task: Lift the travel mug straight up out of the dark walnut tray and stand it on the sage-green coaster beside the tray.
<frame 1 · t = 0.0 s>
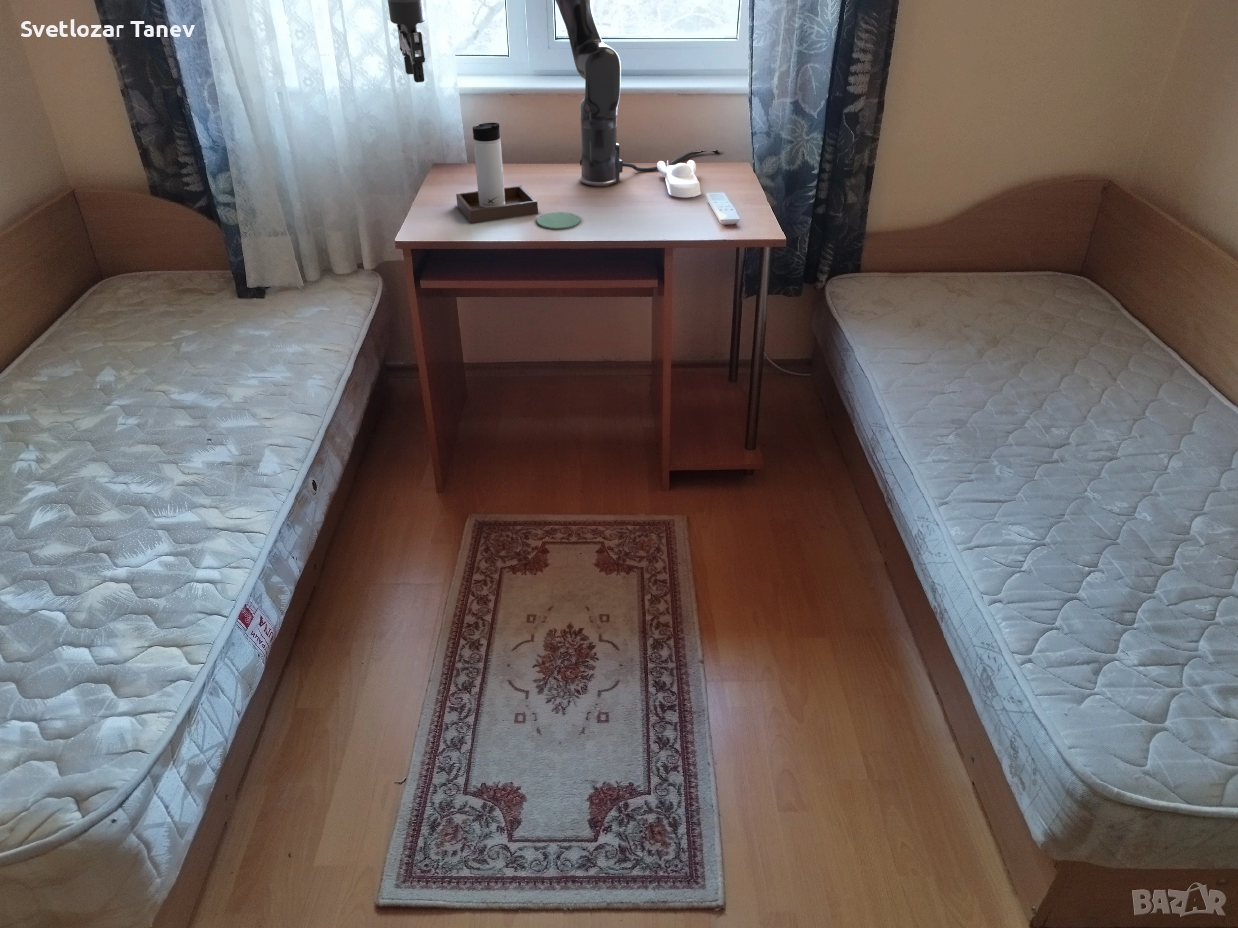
hand: (415, 78, 198), 29 cm above the table, tool pointing down, fingers open, 8 cm apart
travel mug: (493, 209, 212), resting on tray
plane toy: (680, 187, 227), on the table
coaster: (558, 221, 206), on the table
tray: (497, 209, 212), on the table
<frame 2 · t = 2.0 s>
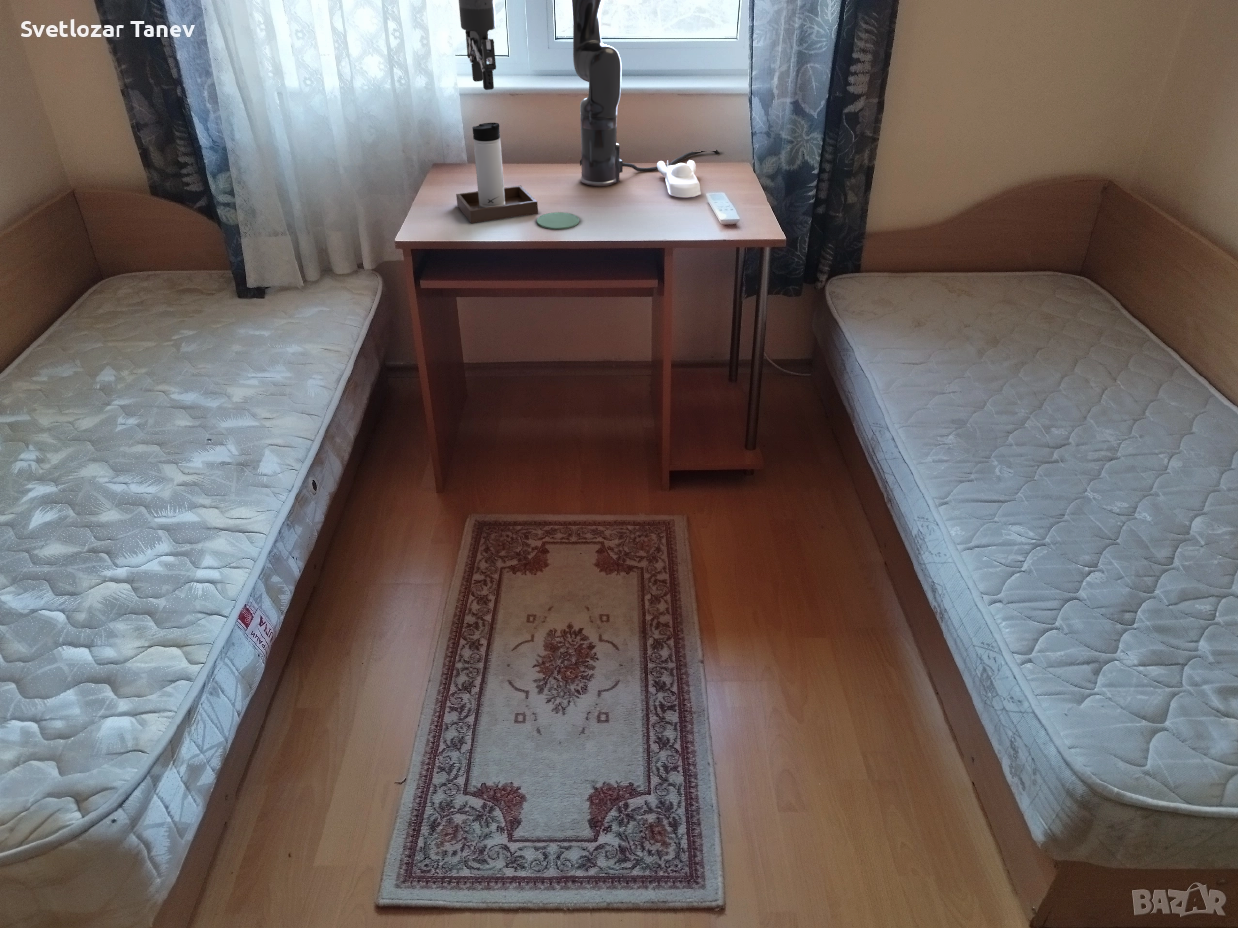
hand: (483, 85, 195), 29 cm above the table, tool pointing down, fingers open, 8 cm apart
nothing on the table moved.
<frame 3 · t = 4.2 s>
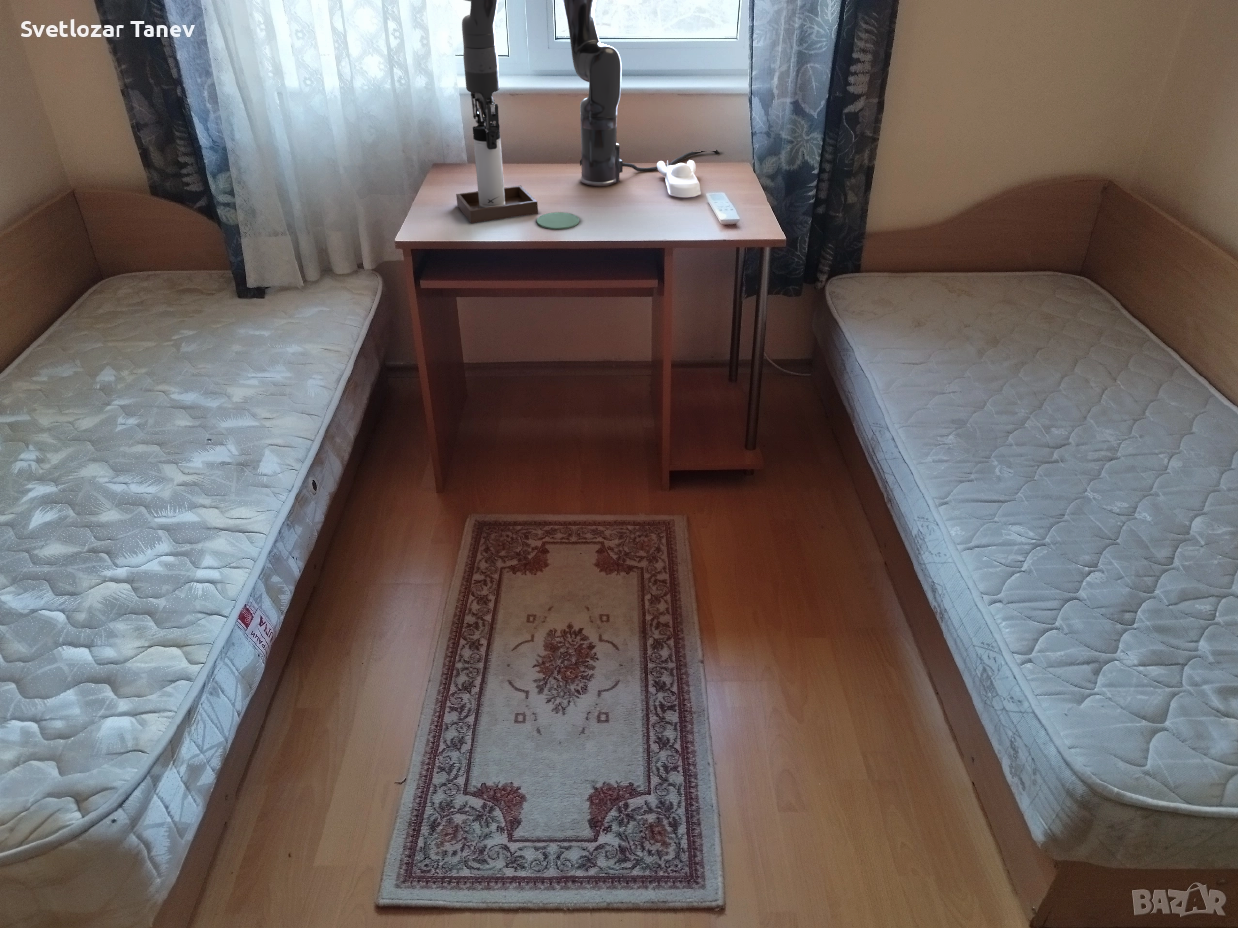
hand: (487, 144, 203), 16 cm above the table, tool pointing down, fingers closed on travel mug, 6 cm apart
travel mug: (493, 209, 212), resting on tray, touching gripper
everything else where it was.
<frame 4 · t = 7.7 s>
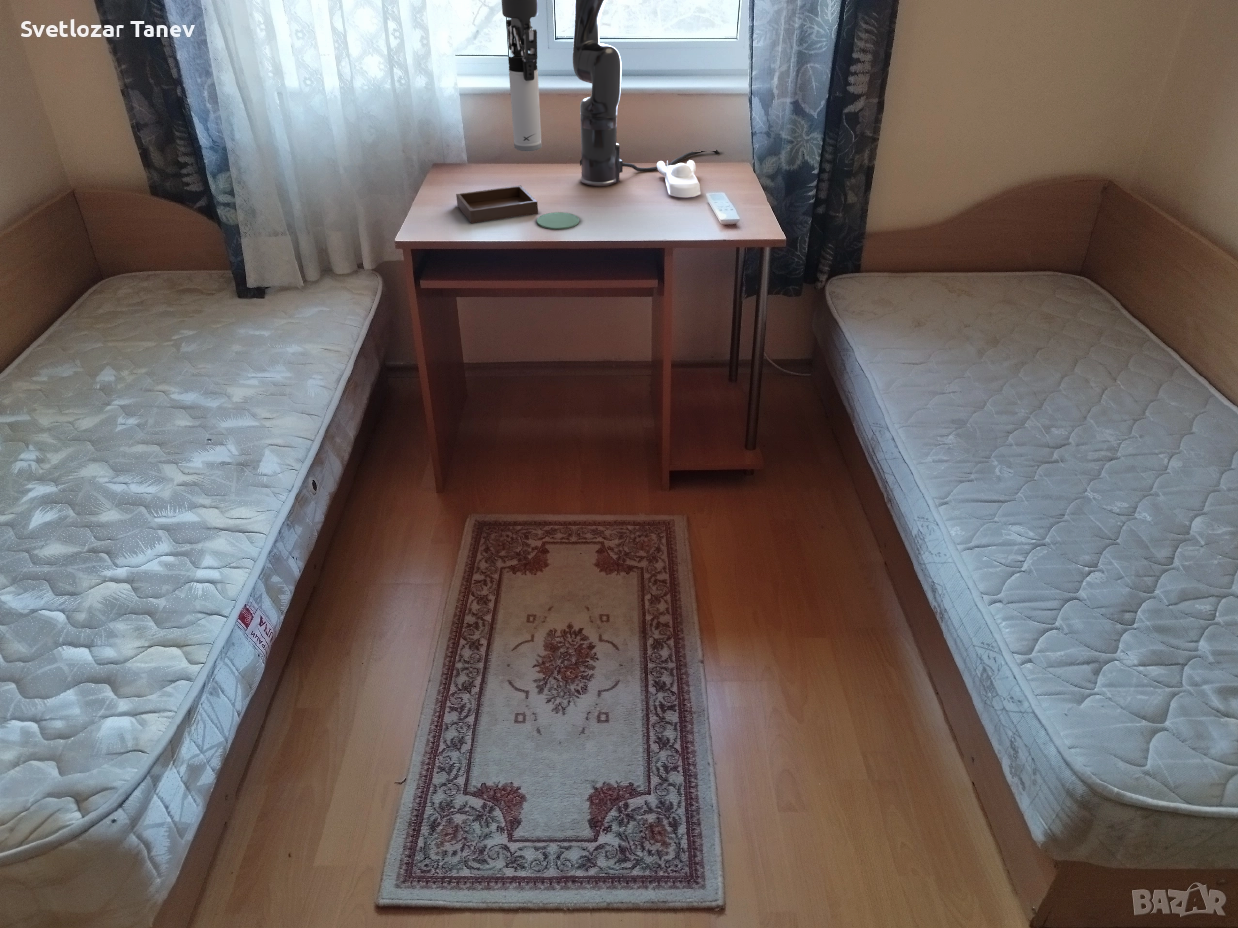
hand: (524, 76, 190), 31 cm above the table, tool pointing down, fingers closed on travel mug, 6 cm apart
travel mug: (528, 148, 199), point 16 cm above the table, touching gripper
everything else where it was.
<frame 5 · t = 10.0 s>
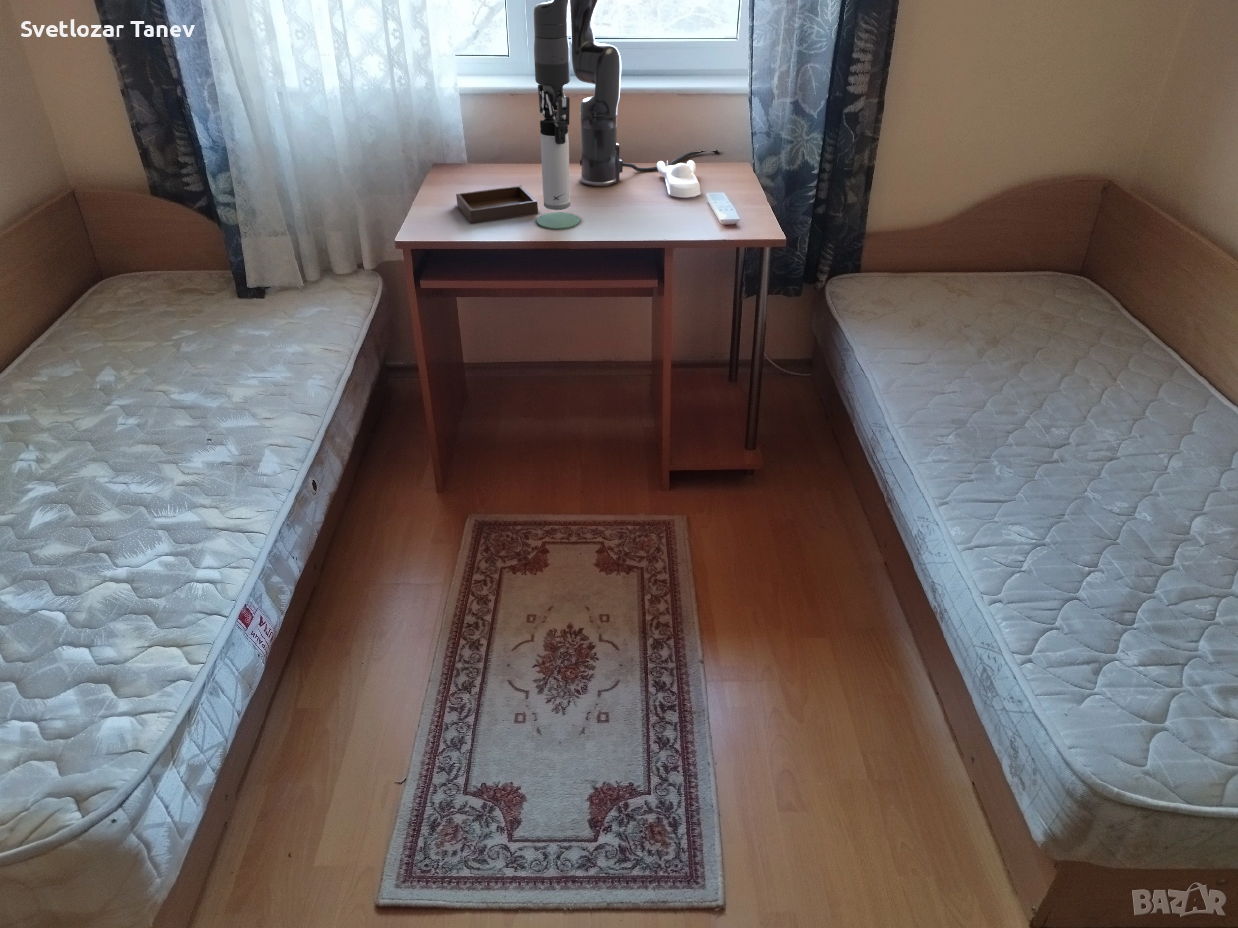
hand: (555, 139, 195), 19 cm above the table, tool pointing down, fingers closed on travel mug, 6 cm apart
travel mug: (557, 206, 204), point 4 cm above the table, touching gripper
everything else where it was.
when the fingers open (16 cm above the table, at t = 11.6 s): travel mug stays where it is, resting on coaster.
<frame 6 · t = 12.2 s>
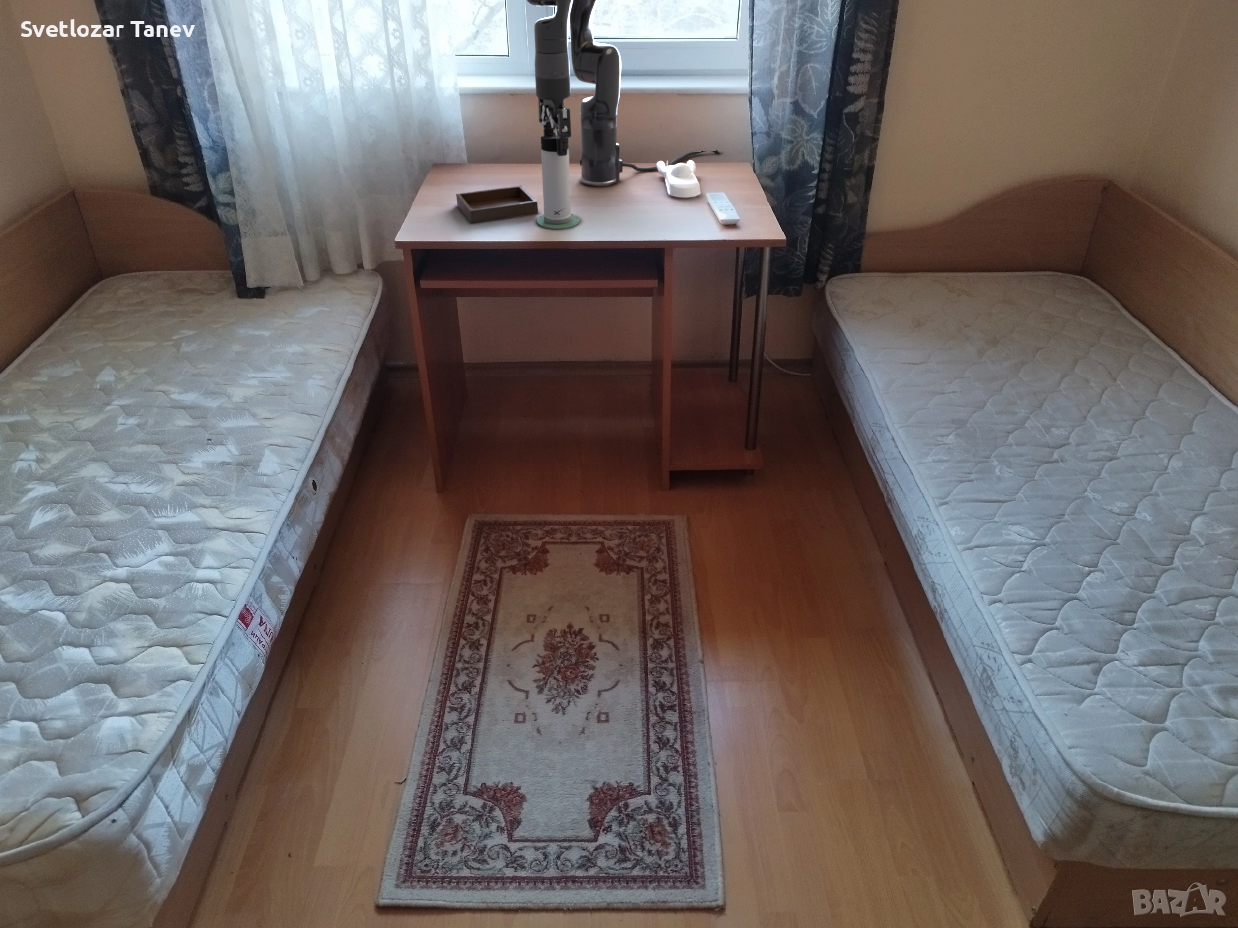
hand: (555, 150, 196), 17 cm above the table, tool pointing down, fingers open, 8 cm apart
travel mug: (558, 221, 206), resting on coaster
everything else where it was.
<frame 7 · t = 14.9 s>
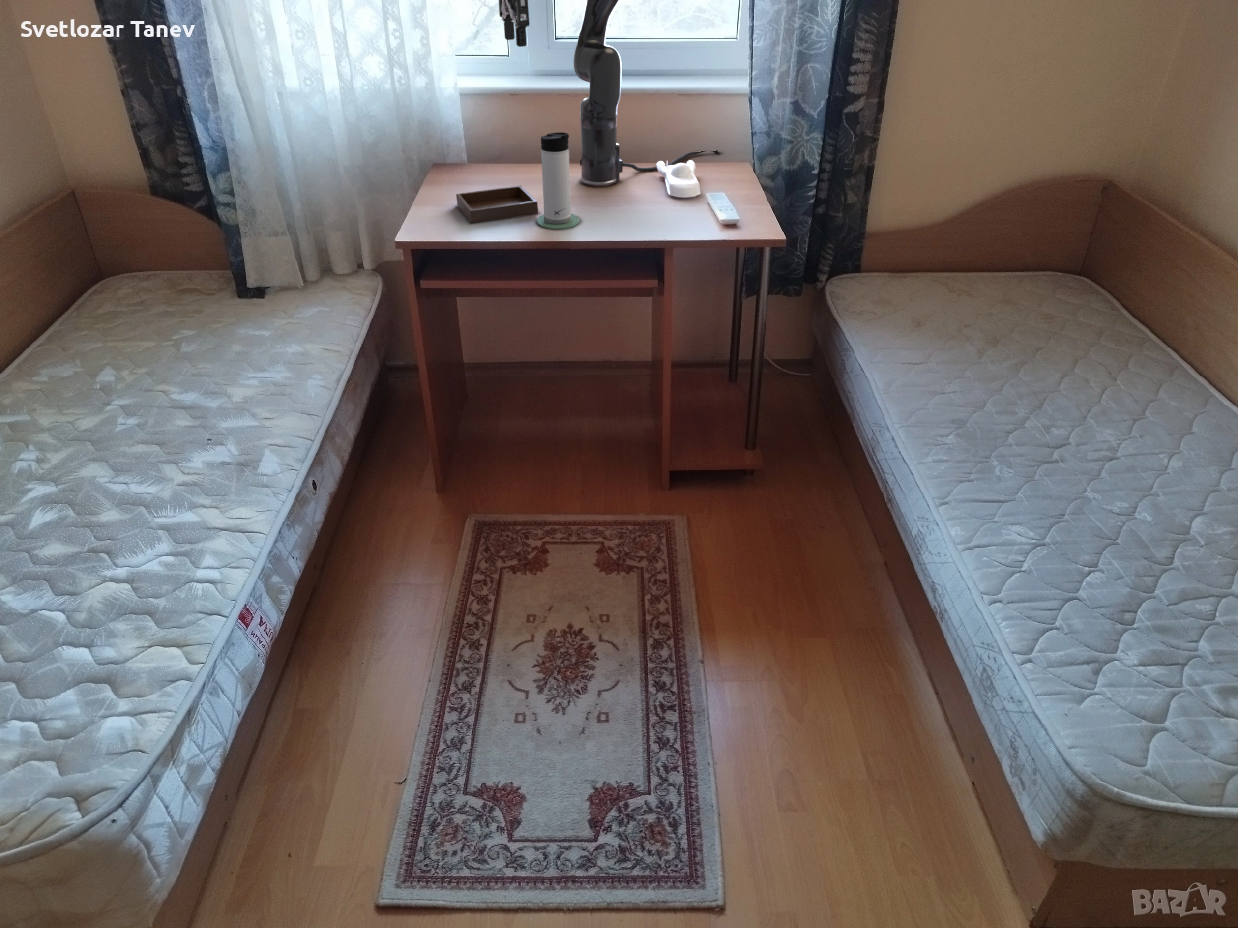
hand: (515, 43, 201), 35 cm above the table, tool pointing down, fingers open, 8 cm apart
nothing on the table moved.
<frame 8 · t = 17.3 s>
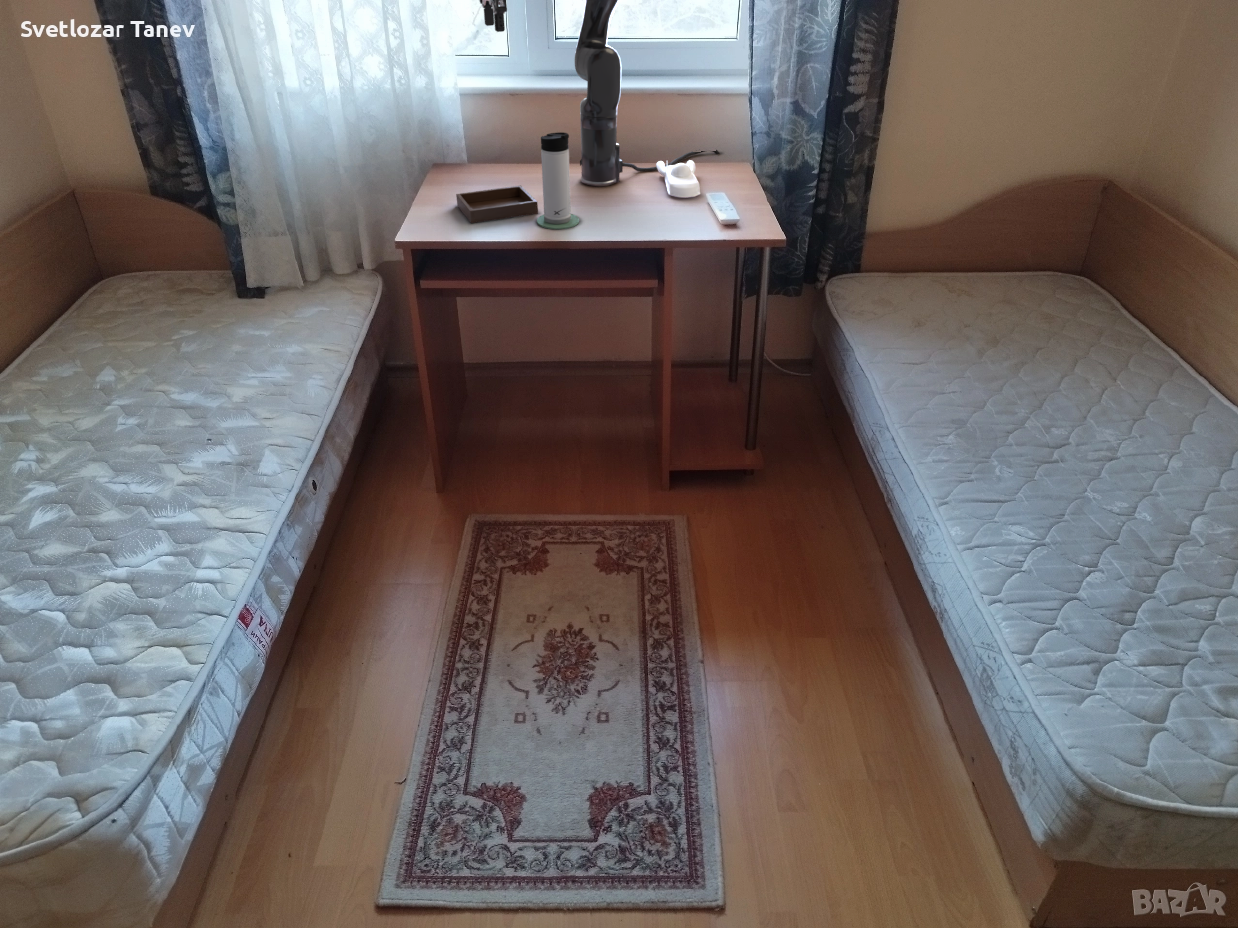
hand: (494, 28, 210), 36 cm above the table, tool pointing down, fingers open, 8 cm apart
nothing on the table moved.
at the end: travel mug 0.2 cm from the coaster (horizontally); travel mug tilted 0°; travel mug touching coaster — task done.
